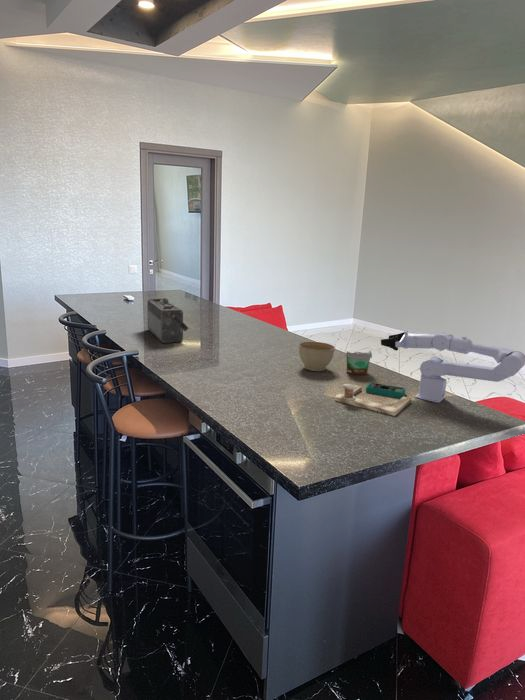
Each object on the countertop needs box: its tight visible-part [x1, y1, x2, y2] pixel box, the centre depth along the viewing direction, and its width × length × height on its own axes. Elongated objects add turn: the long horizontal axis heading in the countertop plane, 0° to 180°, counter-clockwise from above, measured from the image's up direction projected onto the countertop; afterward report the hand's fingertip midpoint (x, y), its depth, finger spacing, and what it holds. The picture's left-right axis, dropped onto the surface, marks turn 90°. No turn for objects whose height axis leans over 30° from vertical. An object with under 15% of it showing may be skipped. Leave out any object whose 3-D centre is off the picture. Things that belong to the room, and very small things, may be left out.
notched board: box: [334, 383, 412, 417], centre depth 180 cm, size 23×18×6 cm
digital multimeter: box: [365, 382, 406, 399], centre depth 191 cm, size 7×15×3 cm, turn 66°
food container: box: [344, 350, 373, 377], centre depth 213 cm, size 12×6×10 cm, turn 105°
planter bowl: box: [298, 341, 336, 372], centre depth 218 cm, size 16×16×11 cm
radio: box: [147, 297, 189, 344], centre depth 266 cm, size 38×14×20 cm, turn 25°
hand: (385, 340), depth 195 cm, fingers open, 7 cm apart
